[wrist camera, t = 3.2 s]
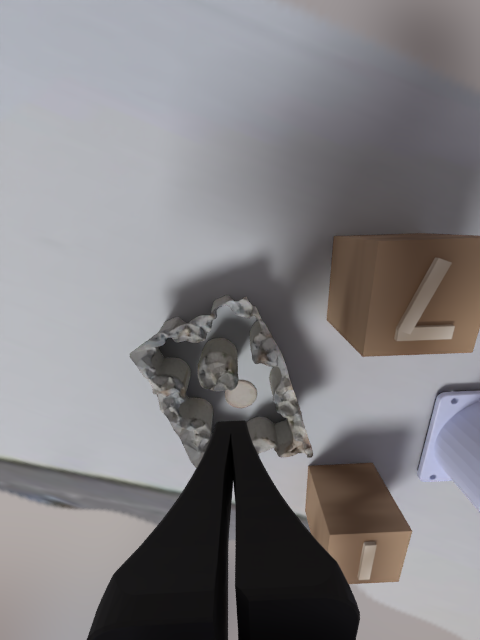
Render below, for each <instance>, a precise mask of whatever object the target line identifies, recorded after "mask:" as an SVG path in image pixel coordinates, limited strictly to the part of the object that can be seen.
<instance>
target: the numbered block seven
mask: <svg viewBox="0 0 480 640" xmlns="http://www.w3.org/2000/svg"><path fill="white" fill-rule="evenodd" d="M327 321H328V322H329V323H330V324H331V325H332V326H333V327H334V328H335V329H336V330H337V331H338V332H339V333H340V334H341V335H342V336H343V337H344V338H345V339H346V340H347V341H348V342H349V343H350V344H351V345H352V346H353V347H354V348H355V349H356V350H357V351H358V352H359V353H360V354H361V355H362V356H363V357H366V356H392V355H419V354H445V353H471V352H473V349H474V345H475V342H476V338H477V335H478V332H479V328H480V236H473V235H450V234H428V233H415V234H384V235H353V236H334V239H333V251H332V263H331V275H330V287H329V298H328V310H327Z"/></svg>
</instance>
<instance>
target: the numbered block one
mask: <svg viewBox="0 0 480 640" xmlns="http://www.w3.org/2000/svg"><path fill="white" fill-rule="evenodd" d="M305 512H306V516H307V520H308V524H309V528H310V532H311V534H312V535H313V537H314V538H315V539H316V540H317V541H318V542H319V543H320V544H321V546H322V547H323V548H324V549H325V550H326V551H327V552H328V553H329V554H330V555H331V556H332V557H333V558H334V559H335V560H336V561H337V563H338V565H339V566H340V568H341V570H342V572H343V574H344V576H345V578H346V580H347V582H348V584H360V583H380V582H399V578H400V574H401V571H402V567H403V563H404V559H405V556H406V552H407V548H408V545H409V541H410V537H411V534H412V530H411V528H410V526H409V525H408V523H407V521H406V520H405V518H404V516H403V514H402V513H401V511H400V509H399V508H398V506H397V504H396V502H395V501H394V499H393V497H392V496H391V494H390V492H389V490H388V489H387V487H386V485H385V484H384V482H383V480H382V478H381V477H380V475H379V473H378V472H377V470H376V468H375V466H374V465H373V463H357V464H335V465H313V466H308V479H307V493H306V508H305Z"/></svg>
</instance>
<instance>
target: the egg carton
mask: <svg viewBox="0 0 480 640" xmlns="http://www.w3.org/2000/svg"><path fill="white" fill-rule="evenodd" d="M225 305H227V306H229V307H230V308H231V309H232V311H233V312H234V313H235V314H236V315H238V316H241V317H245V318H250V317H251V316H255V317H256V318H257V320H258V321H256V322H255V323H254V324H253V326H252V327H251V330H250V332H249V335H250V346H251V352H252V360H253V361H254V363H255V364H259V363H262V364H265V365H267V366H271V367H273V368H272V370H271V372H270V376H269V380H270V385H271V390H272V394H273V401H274V403H275V404H276V412H277V413H280V414H281V415H282V416H283V417H285V418H287V419H286V420H284V421H281V422H279V423H275V424H274V423H273V422H272V421H271V420H269V419H268V418H265V417H255V418H252V419H251V420H249V421H248V422H247V427H248V431H249V434H250V437H251V440H252V442H253V445H254V447H255V449H256V451H257V454H259V453H261V452H264V451H267V450H270V449H272V448H274V450H275V451H276V452H277V454H278V456H279V457H290V456H293V455H296V454H297V453H306V454H307V457H312V456H313V450H312V447H311V444H310V442H309V439H308V436H307V432H306V430H305V427H304V423H303V420H302V414H301V413H302V412H301V411H300V407H299V405H298V402H297V398H296V396H295V393H294V390H293V387H292V384H291V381H290V378H289V374H288V371H287V367H286V364H285V361H284V359H283V356H282V354H281V351H280V349H279V348H278V346H277V344H276V342H275V341H274V339H273V337H272V335H271V333H270V332H269V330H268V328H267V326H266V325H265V323H264V322H263V321H262V319H261V317H260V315H259V312H258V310H257V308H256V307H255V306H253V305H251V303H250V302H249V301H248V299H247V297H246V296H245V297H244V298H243V299H242V300H239V301H234V300H233V299H232V298H231V297H230V296H228V295H226V296H223V297H221V298H219V299H216V300H215V301H214V302H213V306H212V310H211V314H210V315H202V316H198V317H196V318H194V319H193V320H191V321H190V322H189V323H188V324H187V323H185V322H184V321H183V320H182V319H181V318H180V317H175V318H173V319H170V320H168V321H166V322H165V323H164V325H163V326H162V327H161V329H160V331H159V332H158V333H157V334H156V335H154V336H153V337H152V338H151V339H149V340H148V341H146V342H145V343H143V344H142V345H140V346H139V347H138V348H136V349H135V350H134V351H133V352H131V353H130V358H131V359H132V361H133V362H134V363H135V365H136V366H137V367H138V369H139V370H140V372H141V373H142V375H143V376H144V377H145V378H147V379H148V381H149V382H150V384H151V386H152V388H153V394H157V397H158V399H159V405H160V410H161V411H162V412H163V413H164V414H165V416H166V417H167V418H168V420H169V421H170V423H171V425H172V427H173V429H174V431H175V432H176V433H177V434H178V436H179V437H180V439H181V441H182V444H183V446H184V448H185V450H186V452H187V454H188V456H189V459H190V461H191V462H192V463H193V465H194V466H195V467H196V468H197V467H198V465H199V463H200V461H201V459H202V457H203V455H204V453H205V451H206V449H207V446H208V444H209V442H210V439H211V437H212V434H211V429H212V420H213V407H212V405H211V404H210V403H209V402H208V401H207V400H205V399H202V398H188V396H187V395H186V391H187V388H188V384H189V381H190V377H191V370H190V368H189V366H188V364H187V363H186V362H185V361H183V360H182V359H179V358H174V357H169V358H164V357H163V355H162V354H161V352H160V350H159V349H158V348H159V347H160V346H162V345H164V344H165V342H166V340H167V338H172V339H173V340H174V341H175V342H182V341H186V340H187V341H189V342H192V343H199V342H201V341H204V340H205V339H206V336H207V333H208V332H209V331H210V330H211V327H212V321H213V319H215V318H216V317H217V313H216V310H217V309H218V308H219V307H222V306H225ZM197 374H198V379H199V383H200V385H201V386H202V387H203V388H204V389H210V390H212V391H224V390H225V398H226V401H227V403H228V404H230V405H231V406H233V407H236V408H245V407H248V406H250V405H251V404H252V403H253V402H254V401H255V400H256V397H257V390H256V388H255V387H254V385H253V384H252V383H250V382H248V381H245V380H238V361H237V350H236V347H235V345H234V344H233V343H232V342H231V341H229V340H227V339H225V338H214V339H212V340H210V341H208V342H207V343H206V344H205V346H204V348H203V350H202V353H201V357H200V360H199V363H198V373H197Z"/></svg>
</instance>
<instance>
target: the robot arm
mask: <svg viewBox="0 0 480 640" xmlns="http://www.w3.org/2000/svg"><path fill="white" fill-rule="evenodd" d="M417 476H418V478H419V479H420V480H421V481H423V482H433V481H453V482H454V483H455V484H456V485H457V486H458V487H459V489H460V490H461V491H462V492H463V493H464V495H465V496H466V497H467V498H468V499H469V500H470V502H471V503H472V504H473V505H474V506H475V507H476V509H477V510H478V511H479V512H480V391H459V392H443V393H441V394H439V395H438V396H437V398H436V402H435V406H434V410H433V414H432V418H431V422H430V426H429V430H428V433H427V437H426V441H425V445H424V449H423V453H422V457H421V461H420V465H419V469H418V472H417ZM233 482H234V492H235V503H236V562H235V563H236V565H235V571H236V572H235V589H236V605H237V620H238V640H356V635H357V630H358V625H359V620H360V612H359V609H358V606H357V603H356V600H355V598H354V595H353V593H352V591H351V589H350V586H349V584H348V582H347V580H346V578H345V576H344V574H343V572H342V570H341V568H340V566H339V565H338V563H337V561H336V560H335V559H334V558H333V557H332V556H331V555H330V554H329V553H328V552H327V551H326V550H325V549H324V548H323V547H322V546H321V544H320V543H319V542H318V541H317V540H316V539H315V538H314V537H313V535H312V534H311V533H310V532H309V531H308V530H307V529H306V527H305V526H304V525H303V524H302V522H301V521H300V520H299V518H298V517H297V516H296V515H295V513H294V512H293V511H292V510H291V508H290V507H289V506H288V504H287V503H286V501H285V500H284V498H283V497H282V496H281V494H280V493H279V491H278V490H277V488H276V486H275V485H274V483H273V482H272V480H271V478H270V477H269V475H268V473H267V471H266V469H265V468H264V466H263V464H262V462H261V460H260V458H259V456H258V454H257V451H256V449H255V447H254V445H253V442H252V440H251V437H250V434H249V431H248V427H247V423H246V422H245V421H227V422H217V423H216V425H215V428H214V431H213V434H212V437H211V439H210V442H209V444H208V446H207V449H206V451H205V453H204V455H203V457H202V459H201V461H200V463H199V465H198V467H197V468H196V470H195V472H194V474H193V476H192V477H191V479H190V481H189V482H188V484H187V486H186V487H185V489H184V490H183V492H182V493H181V495H180V496H179V498H178V499H177V501H176V502H175V503H174V505H173V506H172V508H171V509H170V510H169V512H168V513H167V514H166V516H165V517H164V518H163V520H162V521H161V522H160V523H159V524H158V526H157V527H156V528H155V529H154V531H153V532H152V533H151V534H150V535H149V536H148V538H147V539H146V540H145V541H144V542H143V543H142V545H141V546H140V547H139V548H138V549H137V550H136V551H135V552H134V553H133V554H132V555H131V556H130V557H129V558H128V559H127V560H126V562H125V563H124V564H123V565H122V566H121V567H120V568H119V569H118V570H117V571H116V572H115V573H114V575H113V577H112V578H111V580H110V582H109V584H108V586H107V588H106V591H105V593H104V595H103V597H102V599H101V602H100V604H99V606H98V609H97V611H96V614H95V617H94V620H93V623H92V626H91V629H90V632H89V635H88V638H87V640H228V540H229V525H230V513H231V500H232V488H233Z"/></svg>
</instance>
